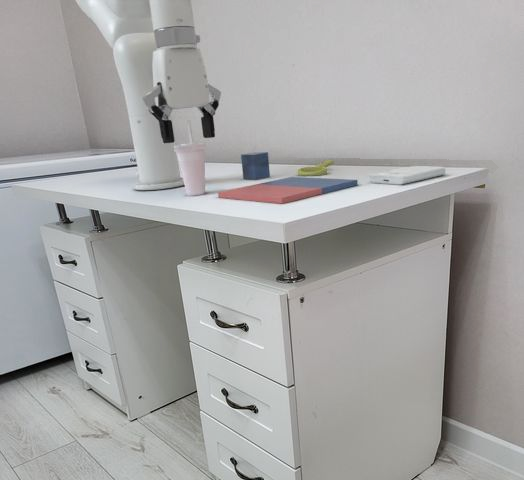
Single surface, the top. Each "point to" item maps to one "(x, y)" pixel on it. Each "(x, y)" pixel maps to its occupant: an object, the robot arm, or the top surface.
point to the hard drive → (407, 175)
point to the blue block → (255, 165)
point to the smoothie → (192, 165)
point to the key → (315, 169)
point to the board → (287, 189)
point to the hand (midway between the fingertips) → (189, 140)
